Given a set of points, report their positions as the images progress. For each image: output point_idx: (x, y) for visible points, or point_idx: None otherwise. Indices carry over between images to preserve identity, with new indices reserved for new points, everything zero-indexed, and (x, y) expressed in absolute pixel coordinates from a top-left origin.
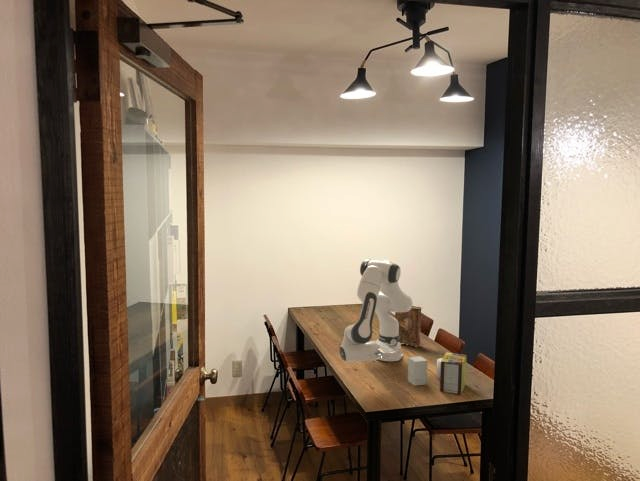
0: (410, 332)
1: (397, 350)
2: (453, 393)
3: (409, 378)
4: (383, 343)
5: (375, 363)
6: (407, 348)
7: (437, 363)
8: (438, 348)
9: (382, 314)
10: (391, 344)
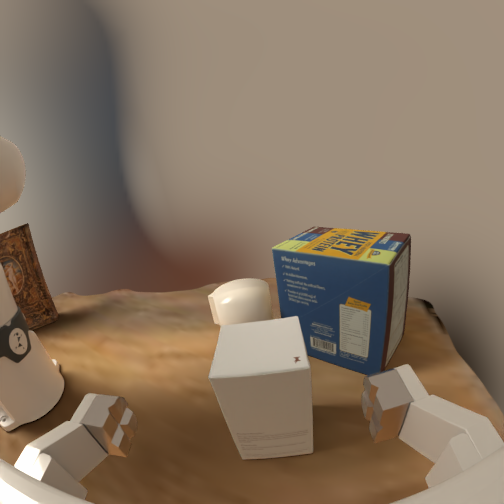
0: (28, 294)
1: (434, 411)
2: (396, 347)
3: (260, 450)
4: (25, 490)
5: None
6: (43, 334)
7: (235, 313)
8: (93, 298)
9: None
10: (96, 402)
